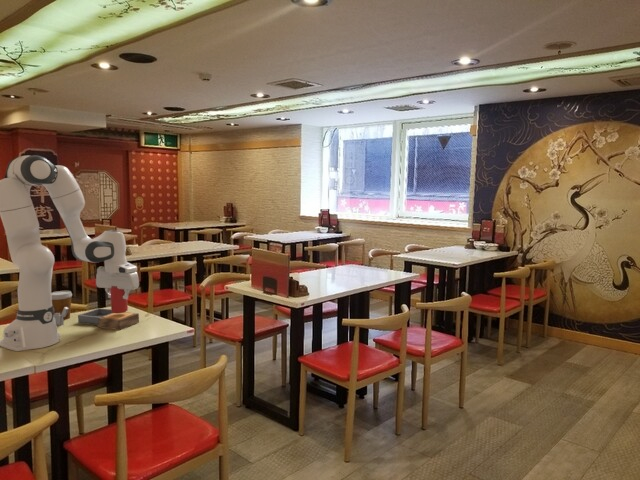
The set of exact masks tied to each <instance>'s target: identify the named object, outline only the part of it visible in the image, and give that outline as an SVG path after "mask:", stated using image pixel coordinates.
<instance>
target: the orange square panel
mask: <svg viewBox="0 0 640 480" xmlns="http://www.w3.org/2000/svg"><path fill="white" fill-rule="evenodd" d="M133 313H134V312H128V313H113V314H110V315H108V316H105V317H103V318H108V319H118V320H120V319H123V318H126V317H128V316H131V315H134V314H133Z"/></svg>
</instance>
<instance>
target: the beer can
mask: <svg viewBox="0 0 640 480" xmlns="http://www.w3.org/2000/svg"><path fill="white" fill-rule="evenodd" d="M124 294H125V292H124V289H118V288H117V286H112V287H111V289H110V296H111V298H110V306H111V307H110V309H111V311H112V312H113V313H124V312H127V311H128V310H129V306H128V299H123V295H124Z"/></svg>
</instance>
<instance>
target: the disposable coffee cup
mask: <svg viewBox="0 0 640 480" xmlns="http://www.w3.org/2000/svg"><path fill="white" fill-rule="evenodd" d="M51 295H52V305H53V306H54V315H55V313H60V315H61V314H62V311H63V309H64V308H65V307H67V308H69V310H68V312H67V315H66V316H65V317H63V321H66V320H68V319H70V318H71V305H72V297H73V293H72V291H71V290H60V291H59V290H58V291H53V292H52V291H51Z"/></svg>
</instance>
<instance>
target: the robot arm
mask: <svg viewBox="0 0 640 480" xmlns="http://www.w3.org/2000/svg"><path fill="white" fill-rule="evenodd" d="M5 170H6V171H5V175H4V177H3V178H2V179H0V220H1V222H2V226H3V228H4V233H5V235H6V242H7V246H8V250H9V251H8V252H9V255H10V259H11V261H12V264H13V265H14V266H15V267H16V268H18V269H19V277H18V278H19V279H18V286H17V291H16V292H17V301H18V309H16V310H14V312H13V314H14V315H15V314H16V315H15V319H14V320H12V322H10V323H9V324H8V325H6V327H4V330H3V335H2V337H3V338H1V339H0V347H1V348H5V349H8V350H11V351H15V352H22V351H28V350H36V349H42V348H46V347H49V346H52V345H56V344H57V343H59V342H60V333H58V327H57V326H58V325H56V321H55V318H54V317H53V315H54V306H53V305H52V295H51V293H52V281H53V280H52V279H53V273H54V272H53V270H54V269H53V268H54V265H55V260H56V259H55V256H54V254H53V252H52V251H51V249H50V248H49V247H47V246H45V245H43V244H42V241H41V235H40V222H39V220H38V216H37V214H36V211H35V210H36V209H35V206H34V204H33V200H32V199H31V188H32V186H43V187H44V188H45V189H46V190H47V192H48V195H49V197H50V199H51V201H52V202H53V205H54V206H55V208H56V210H57V211H58V213H59V216H60V218H61V220H62V222H63V225H64V227H65V230H66V231H67V234H68V236H69V238H70V242H71V253H72V256H73V257H74V258H75V259H76V260H78V261H81V262H89V263H94V264H95V263H96V264H97V263H98V264H99V263H103V262H104V266H99V267H97V268H96V276H95V278H96V279H95V285H96V287H97V288H99V289H101V288H103V289H104V291H105V292H106V294H107V298H108V299H111V296H110V289H111V287H112V286H117V288H118V289H124V292H125V294H124V295H123V299H127V300H128V299H129V294H130V292H131V291H134V290H137V289H138V288H139V287H140V280H139V273H138V272H137V271H138V267H137V265H135V264H133V263H131V262H128V260H127V259H128V258H127V256H126V253H127V246H126V245H127V243H126V237H125V234H124V233H123V232H122V231H120V230H114V229H107V230H104V231H103V232H102V233H101V234H99V235H98V236H96V237H94V238H91V237H90V236H88V234H87V232H86V230H85V227H84V225H83V222H82V220H81V217H80V215H81V212H82V211H83V209H84V208H85V206H86V200H85V197H84V194H83V191H82V190H81V188H80V185H79V183H78V181H77V180H76V178H75V177H74V175H73V173H72V172H71V171H70V169H69V167H66V166H64V165H59V164H57V165H55V164H54V163H52V162H51V161H50V160H48V159H47V158H46V157H44V156H41V155H36V154H35V155H21V156H17V157H14V158H13V159H11V160H10V161H9V162H8V164H7V166H6V169H5Z"/></svg>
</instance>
